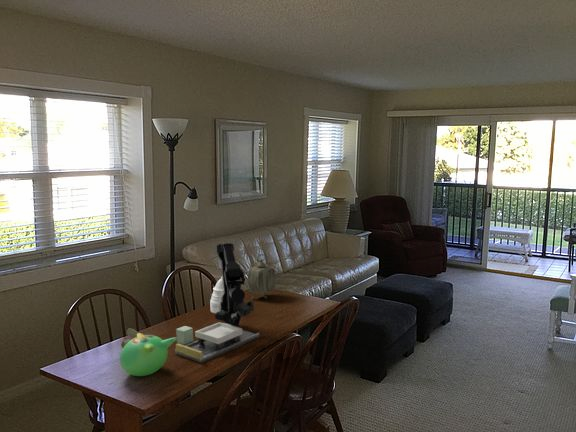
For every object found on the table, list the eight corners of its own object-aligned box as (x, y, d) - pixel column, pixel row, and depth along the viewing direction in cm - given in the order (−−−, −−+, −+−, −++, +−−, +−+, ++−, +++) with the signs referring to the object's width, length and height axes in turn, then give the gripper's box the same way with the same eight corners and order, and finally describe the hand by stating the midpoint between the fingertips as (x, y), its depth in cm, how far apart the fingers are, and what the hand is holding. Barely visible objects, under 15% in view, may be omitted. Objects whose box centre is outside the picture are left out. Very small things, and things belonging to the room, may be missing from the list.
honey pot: (240, 310, 257) (238, 276, 255) (218, 315, 249) (217, 280, 247) (226, 304, 267) (225, 272, 265) (206, 309, 259) (204, 276, 257)
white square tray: (195, 343, 209) (195, 331, 208) (221, 333, 220) (221, 321, 220) (218, 351, 200) (218, 338, 199) (244, 340, 212) (243, 327, 211)
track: (175, 353, 202) (174, 344, 201) (234, 329, 228) (233, 321, 227) (201, 363, 192) (200, 353, 191) (259, 337, 218) (259, 328, 218)
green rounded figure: (144, 360, 195) (141, 324, 194) (179, 366, 189) (177, 329, 187) (111, 379, 179) (109, 340, 177) (149, 387, 173) (147, 346, 171)
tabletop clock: (264, 293, 286) (263, 251, 283) (276, 296, 281) (275, 253, 278) (248, 300, 275) (247, 255, 272) (261, 302, 269) (259, 257, 266)
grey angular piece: (128, 352, 200) (121, 328, 203) (121, 356, 204) (113, 334, 206) (146, 346, 207) (139, 324, 210) (138, 351, 211) (131, 329, 213)
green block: (176, 342, 214) (176, 328, 213) (185, 338, 218) (185, 325, 217) (184, 344, 211) (183, 331, 210) (193, 341, 215) (192, 328, 214)
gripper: (232, 304, 203) (233, 340, 205) (262, 293, 217) (263, 327, 219) (213, 299, 210) (215, 335, 212) (243, 289, 224) (244, 323, 226)
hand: (235, 330), depth 217 cm, fingers closed
